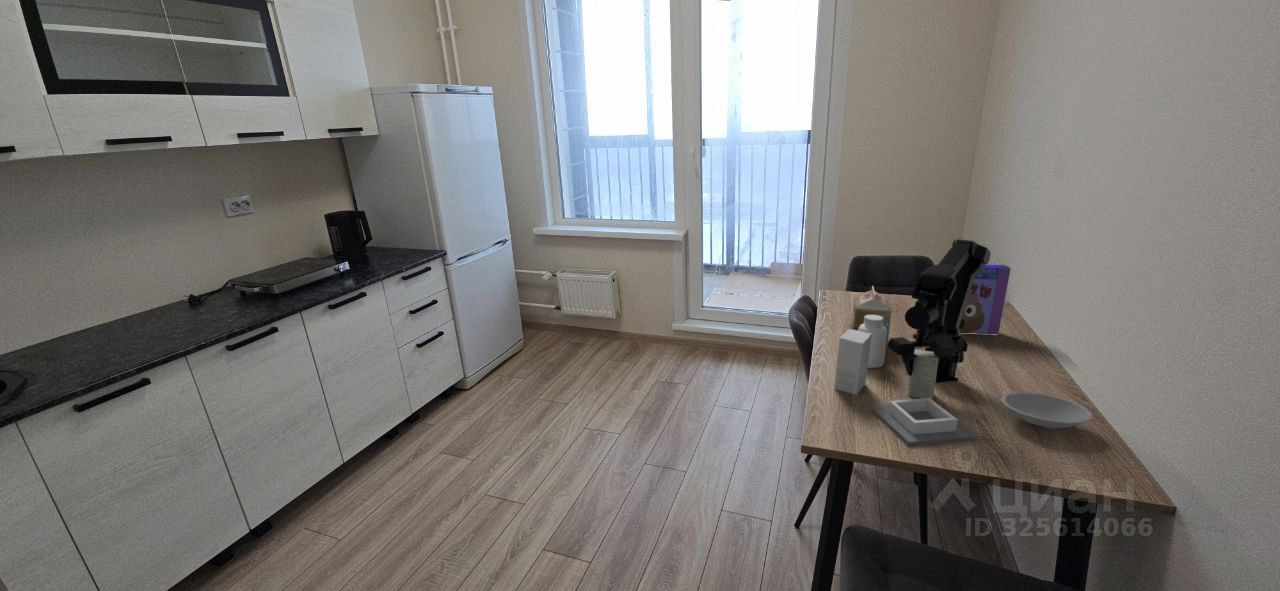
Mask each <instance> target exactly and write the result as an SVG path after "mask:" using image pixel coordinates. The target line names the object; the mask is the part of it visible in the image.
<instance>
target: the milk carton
mask: <svg viewBox="0 0 1280 591" xmlns="http://www.w3.org/2000/svg"><path fill="white" fill-rule="evenodd" d="M866 315H878V316H881V317H883V318H884V321H883V326H884V327H885V328H886V329H887V339H886V348H885V353H888V352H887V351H888V341H889V334H890V328H891V327H890V326H891V320H892V319H891V317H892V309H891V306H890V302H889V300H888V299H887V298H886V297H885V296H884V295H882V294H881V293H879V292H878V291H875V288H874V285H872V286H871V290H868V291H865V292H862V293H861V294H859V295H857V296H855V298H853V307H852V315H851V316H852V317H851V325H850V329H852V330H857V331H858V329H859V327H860V325H862V324H864V317H865V316H866Z"/></svg>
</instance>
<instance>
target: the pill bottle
mask: <svg viewBox="0 0 1280 591" xmlns="http://www.w3.org/2000/svg"><path fill="white" fill-rule="evenodd" d="M883 321H884V318H883V317H881V316H878V315H866V316H865V317H864V324H862V325H860V327H859V329H858V331H861V332H866V333H871V334H872V337H871V344H870V352H869V359H868V367H867V369H868V368H869V369H878V368H881V367H883V365H884V363H885V356H886V352H885V348H886V339H887V329H886V328H885V327H884V326H883Z"/></svg>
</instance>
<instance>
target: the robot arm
mask: <svg viewBox="0 0 1280 591" xmlns="http://www.w3.org/2000/svg"><path fill="white" fill-rule="evenodd" d="M990 259H991V251H990V250H989V248H988V247H986V246H983V245H980V244H978V242H975V241H974V240H968V239H959V238H957V239H954V240H953V242H952V245H951V247H950V248H949V249H948V251H947V252H946V254H945V255H944V256H943V257H942V259H941V260H940V261H939V262H938V264H935V265H932V266H931V265H930V266H928V268H926V269H925V270H924V271H923V272H922V273H920V275H919V277H918V280H917V281H916V285H915V287H914V289H913V293H912V294H911V299H915V300H916V301H915V303H914V305H913V306H912V307H910V308H908V309H907V311H906V312H905V314H904V320H905V323H906V324H907V326H908V327H910V328H912V329H914V330H916V333H913V334H912V338H913V339H914V341H912V340H911V341H910V340H908V339H907V338H905V337H891V338H889V339H888V344H887V349H889V350H890V351H892V352H894V353H895V354H896V355H898V356H900V357H901V359H902V362H903V365H904V368H905V370H906V374H907V375H908V376H911V375H912V372H913V365H914V359H915V358H916V357H917V355H916V354H914V352H915V349H918V350H920V349H924V350H925V351H932V352H934V355H935V356H937V357H939V359H938V367H937V375H936V382H937V383H948V382H958V381H959V378H958V377H956V371H957V366H958V364H959V363H961V364H962V363H964V360H965V352H968V348H969V344H968V342H967V340H966V339H965V338H964V337H963V335H961V333H960V330H959V325H960V322H961V319H962V316H963V312H964V309H965V306H966V303H967V300H968V296H969V293H970V290H971V287H972V284H973V280H974V278H975V277H977V276H978V275H979V274H980V273H981V272H983V271H984V268H985V265H989V262H990ZM936 382H935V383H936Z"/></svg>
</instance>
